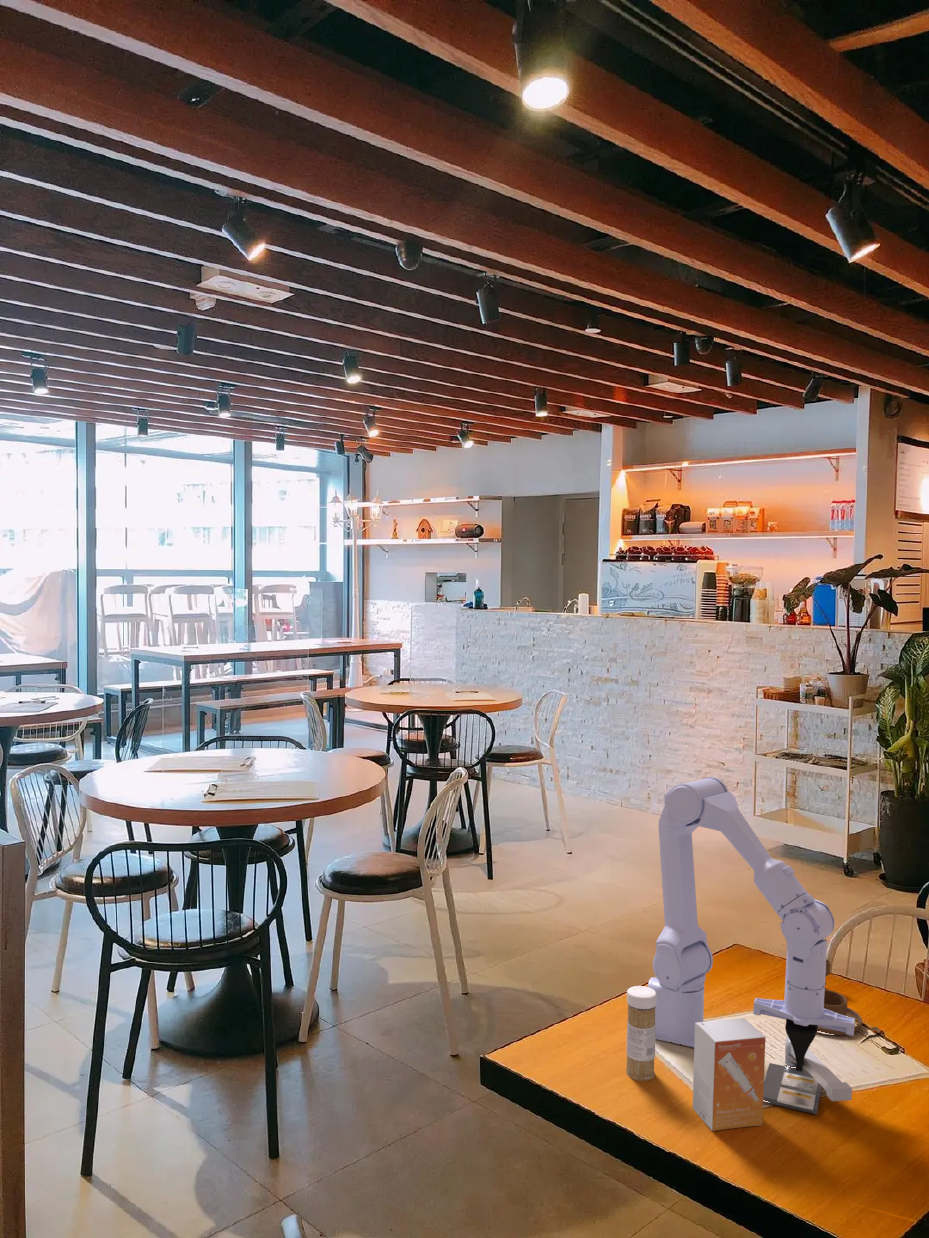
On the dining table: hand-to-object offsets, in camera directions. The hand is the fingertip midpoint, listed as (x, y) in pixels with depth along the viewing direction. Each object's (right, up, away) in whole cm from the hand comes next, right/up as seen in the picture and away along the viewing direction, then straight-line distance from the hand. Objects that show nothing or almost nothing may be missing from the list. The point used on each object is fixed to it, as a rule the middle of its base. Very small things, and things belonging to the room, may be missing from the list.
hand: (800, 1068), depth 147 cm
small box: (-14, -3, -9) cm, 17 cm away
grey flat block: (-1, -3, 0) cm, 3 cm away
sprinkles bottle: (-24, -2, +2) cm, 25 cm away
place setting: (+15, -3, +25) cm, 29 cm away
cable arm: (+2, 0, -1) cm, 2 cm away
